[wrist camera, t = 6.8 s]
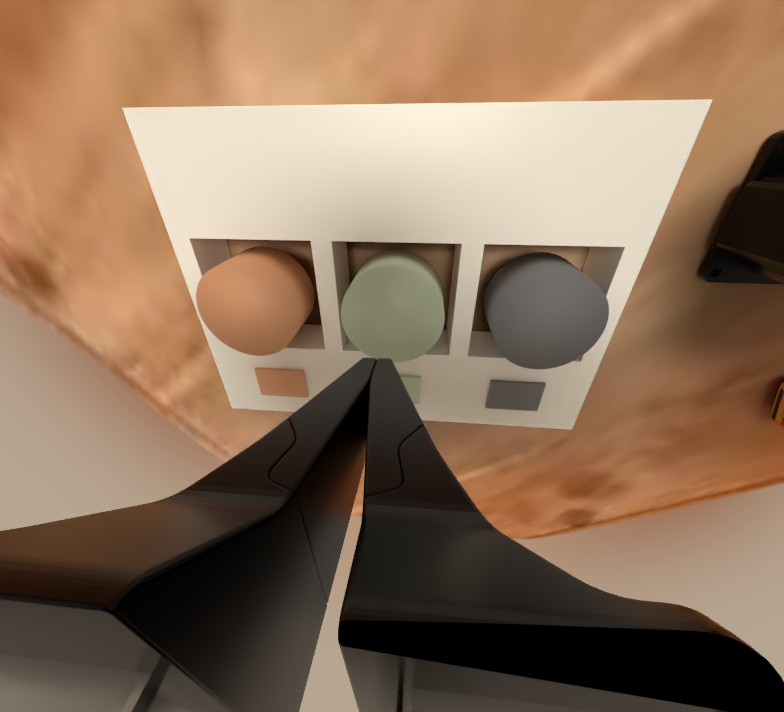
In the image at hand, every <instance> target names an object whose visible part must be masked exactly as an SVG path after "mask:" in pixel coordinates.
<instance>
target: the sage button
mask: <svg viewBox="0 0 784 712" xmlns="http://www.w3.org/2000/svg"><path fill="white" fill-rule="evenodd" d="M341 320H342V325H343V328H344V330H345V333H346V335H347V336H348V338H349V340H350V341H351V342H352V343H353V344H354V345H355V346H356V347H357V348H358V349H359V350H360V351H361V352H363V353H364V354H366V355H368V356H370V357H372V358H376V359H379V358H387V359H391V360H392V361H393V362H405V361H410V360H413V359H416V358H418V357H420V356H422V355H423V354H425V353H426V352H428V351H429V350H430V349H431V348H432V347H433V346H434V345H435V344H436V342H437V341H438V339H439V338H440V336H441V334H442V331H443V328H444V322H445V313H444V304H443V295H442V286H441V282H440V278H439V276H438V274H437V272H436V270H435V269H434V268H433V266H432V265H431V264H430V263H429V262H428V261H427V260H426V259H424V258H423V257H422V256H420V255H418V254H416V253H413V252H411V251H407V250H400V249H392V250H386V251H383V252H380V253H377V254H375V255H373V256H372V257H371V258H369V259H368V260H367V261H366V262H365V263H364V264H363V265H362V266H361V268H360V269H359V271H358V272H357V274H356V276H355V278H354V279H353V281H352V283H351V285H350V286H349V288H348V290H347V292H346V294H345V296H344V298H343V302H342V306H341Z"/></svg>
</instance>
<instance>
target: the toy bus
mask: <svg viewBox="0 0 784 712" xmlns="http://www.w3.org/2000/svg"><path fill="white" fill-rule="evenodd" d="M771 416H772V419H773V420H774V421H775V422H776V423H777V424H778V425H780V426H781V427H782V428H783V429H784V382H783V383H782V384H781V386H780V388H779V390H778V393H777V395H776V399H775V402H774V406H773V409H772V413H771Z"/></svg>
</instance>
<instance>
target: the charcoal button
mask: <svg viewBox="0 0 784 712" xmlns="http://www.w3.org/2000/svg"><path fill="white" fill-rule="evenodd" d="M483 306H484V313H485V316H486V319H487V321H488V324H489V327H490V330H491V333H492V335H493V338H494V341H495V344H496V346H497V348H498V350H499V351H500V353H501V354H502V355H503V356H504V357H505V358H506V359H507V360H509V361H510V362H512V363H513V364H515V365H518V366H521V367H524V368H528V369H550V368H555V367H559V366H562V365H565V364H568V363H570V362H572V361H574V360H576V359H578V358H579V357H581V356H582V355H584V354H585V353H586V352H587V351H589V350H590V349H591V348H592V347H593V346H594V345H595V344H596V342H597V341H598V340H599V338H600V337H601V335H602V334H603V332H604V330H605V328H606V325H607V322H608V316H609V305H608V300H607V298H606V295H605V293H604V292H603V290H602V289H601V288H600V286H599V285H598V284H596V283H595V282H594V281H593V280H592V279H590V278H589V277H588V276H586V275H585V274H584V273H583V272H581V271H580V270H579V269H577V268H576V267H575V266H574V265H572V264H571V263H570V262H568V261H567V260H566V259H564V258H562V257H561V256H558V255H555V254H551V253H544V252H538V253H530V254H526V255H523V256H520V257H518V258H515V259H513V260H512V261H510V262H508V263H507V264H505V265H504V266H503V267H502V268H501V269H499V270H498V271H497V273H496V274H495V275H494V276H493V277H492V279H491V280H490V282H489V284H488V286H487V288H486V291H485V295H484V301H483Z"/></svg>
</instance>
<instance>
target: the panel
mask: <svg viewBox="0 0 784 712" xmlns="http://www.w3.org/2000/svg"><path fill="white" fill-rule="evenodd" d="M712 100H713V99H712ZM712 100H641V101H570V102H499V103H428V104H357V105H286V106H215V107H144V108H122V109H123V111H124V114H125V117H126V120H127V122H128V125H129V128H130V130H131V133H132V136H133V139H134V141H135V144H136V147H137V150H138V152H139V155H140V158H141V161H142V163H143V166H144V169H145V171H146V174H147V177H148V180H149V182H150V185H151V188H152V191H153V193H154V196H155V199H156V202H157V204H158V207H159V210H160V212H161V215H162V218H163V221H164V223H165V226H166V229H167V232H168V234H169V237H170V240H171V242H172V245H173V248H174V251H175V253H176V256H177V259H178V262H179V264H180V267H181V270H182V273H183V275H184V278H185V281H186V283H187V286H188V289H189V292H190V294H191V297H192V300H193V303H194V305H195V308H196V311H197V314H198V316H199V319H200V322H201V324H202V327H203V330H204V333H205V335H206V338H207V341H208V344H209V346H210V349H211V352H212V355H213V357H214V360H215V363H216V365H217V368H218V371H219V374H220V376H221V379H222V382H223V385H224V387H225V390H226V393H227V396H228V398H229V401H230V404H231V406H232V408H237V409H253V410H269V411H285V412H296V411H297V410H298V409H299V408H301V407H302V406H303V405H304V404H306V403H307V402H308V401H309V400H311V399H312V398H313V397H314V396H316V395H317V394H318V393H319V392H321V391H322V390H323V389H324V388H326V387H327V386H328V385H329V384H331V383H332V382H333V381H334V380H336V379H337V378H338V377H339V376H341V375H342V374H343V373H344V372H346V371H347V370H348V369H349V368H351V367H352V366H353V365H354V364H356V363H357V362H358V361H359V360H361V359H362V358H372V357H370V356H368V355H366V354H364V353H363V352H361V351H360V350H359V349H358V348H357V347H356V346H355V345H354V344H353V343H352V342H351V341H350V340H349V338H348V336H347V335H346V333H345V330H344V328H343V325H342V320H341V306H342V302H343V298H344V296H345V294H346V292H347V290H348V288H349V286H350V283H349V270H348V257H347V244H346V241H348V242H399V243H449V244H455V251H454V261H453V270H452V280H451V290H450V300H449V309H448V319H447V329H446V330H443V331H442V334H441V336H440V338H439V339H438V341H437V342H436V344H435V345H434V346H433V347H432V348H431V349H430V350H429V351H428V352H426V353H425V354H423V355H422V356H420V357H418V358H416V359H413V360H410V361H405V362H393V363H394V365H395V367H396V369H397V371H398V373H399V375H400V377H401V379H402V381H403V383H404V385H405V388H406V390H407V392H408V394H409V396H410V398H411V400H412V402H413V404H414V406H415V408H416V410H417V412H418V414H419V416H420V418H421V420H428V421H444V422H460V423H475V424H491V425H507V426H523V427H539V428H555V429H571V430H572V428H573V426H574V424H575V421H576V419H577V417H578V414H579V412H580V409H581V407H582V405H583V402H584V400H585V398H586V395H587V393H588V391H589V388H590V386H591V384H592V381H593V379H594V377H595V374H596V372H597V370H598V367H599V365H600V363H601V360H602V358H603V356H604V353H605V351H606V349H607V346H608V344H609V341H610V339H611V337H612V334H613V332H614V330H615V327H616V325H617V323H618V320H619V318H620V316H621V313H622V311H623V309H624V306H625V304H626V302H627V299H628V297H629V295H630V292H631V290H632V288H633V285H634V283H635V281H636V278H637V276H638V274H639V271H640V269H641V266H642V264H643V262H644V259H645V257H646V255H647V252H648V250H649V248H650V245H651V243H652V241H653V238H654V236H655V234H656V231H657V229H658V227H659V224H660V222H661V220H662V217H663V215H664V213H665V210H666V208H667V206H668V203H669V201H670V198H671V196H672V194H673V191H674V189H675V187H676V184H677V182H678V180H679V177H680V175H681V173H682V170H683V168H684V166H685V163H686V161H687V159H688V156H689V154H690V152H691V149H692V147H693V145H694V142H695V140H696V138H697V135H698V133H699V131H700V128H701V126H702V123H703V121H704V119H705V116H706V114H707V112H708V109H709V107H710V105H711V102H712ZM226 239H248V240H298V241H311V248H312V255H313V262H314V270H315V277H316V284H317V292H318V299H319V307H320V314H321V321H322V325H311V324H303V325H302V326H301V328H300V329H299V331H298V332H297V333H296V335H295V336H294V338H293V339H292V340H291V342H290V343H289V344H288V345H287V346H286V347H285V348H284V349H283V350H281V351H279V352H277V353H275V354H271V355H266V356H255V355H249V354H245V353H242V352H239V351H237V350H234V349H232V348H231V347H229V346H227V345H226V344H224V343H223V342H221V341H220V340H219V339H218V338H217V337H216V336H215V335H214V334H213V333H212V332H211V331H210V330H209V329H208V327H207V326H206V325H205V323H204V321H203V320H202V318H201V316H200V313H199V311H198V307H197V302H196V291H197V286H198V283H199V281H200V279H201V278H202V276H203V275H204V274H205V273H206V272H207V271H208V270H210V269H212V268H213V267H215V266H217V265H219V264H221V263H223V262H224V261H226V260H228V259H230V258H231V255H230V251H229V247H228V244H227V240H226ZM484 244H499V245H549V246H590V248H589V251H588V254H587V257H586V260H585V263H584V266H583V269H582V272H583V273H584V274H585V275H586V276H588V277H589V278H590V279H592V280H593V281H594V282H595V283H596V284H598V285H599V286H600V288H601V289H602V290H603V292H604V293H605V295H606V298H607V300H608V305H609V316H608V322H607V325H606V328H605V330H604V332H603V334H602V335H601V337H600V338H599V340H598V341H597V342H596V344H595V345H594V346H593V347H592V348H591V349H590V350H589V351H587V352H586V353H585V354H584V355H582V356H581V357H579V358H578V359H576V360H574V361H572V362H570V363H568V364H565V365H562V366H559V367H555V368H550V369H528V368H524V367H521V366H518V365H515V364H513V363H512V362H510V361H509V360H507V359H506V358H505V357H504V356H503V355H502V354H501V353H500V351H499V350H498V348H497V346H496V344H495V341H494V338H493V335H492V333H491V332H483V331H471V330H472V324H473V317H474V310H475V304H476V297H477V290H478V284H479V277H480V271H481V264H482V257H483V251H484Z"/></svg>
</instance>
